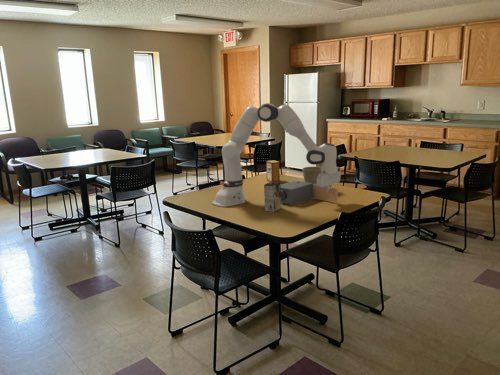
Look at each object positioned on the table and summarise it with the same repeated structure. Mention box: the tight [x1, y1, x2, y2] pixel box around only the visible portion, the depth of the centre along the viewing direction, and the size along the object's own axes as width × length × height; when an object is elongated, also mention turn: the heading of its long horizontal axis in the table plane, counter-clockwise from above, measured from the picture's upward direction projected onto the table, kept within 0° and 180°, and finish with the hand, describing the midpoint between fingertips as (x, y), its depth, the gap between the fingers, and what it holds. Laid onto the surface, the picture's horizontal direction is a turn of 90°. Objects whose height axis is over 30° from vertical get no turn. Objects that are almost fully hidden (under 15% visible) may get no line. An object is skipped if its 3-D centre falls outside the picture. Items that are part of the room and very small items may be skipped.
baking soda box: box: [265, 160, 281, 183], centre depth 319 cm, size 10×6×16 cm
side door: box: [312, 184, 338, 204], centre depth 257 cm, size 20×2×9 cm, turn 38°
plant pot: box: [301, 166, 322, 184], centre depth 284 cm, size 15×15×16 cm
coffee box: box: [263, 182, 282, 213], centre depth 242 cm, size 9×6×16 cm
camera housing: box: [280, 180, 314, 206], centre depth 262 cm, size 24×14×11 cm, turn 135°
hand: (328, 191), depth 252 cm, fingers closed
